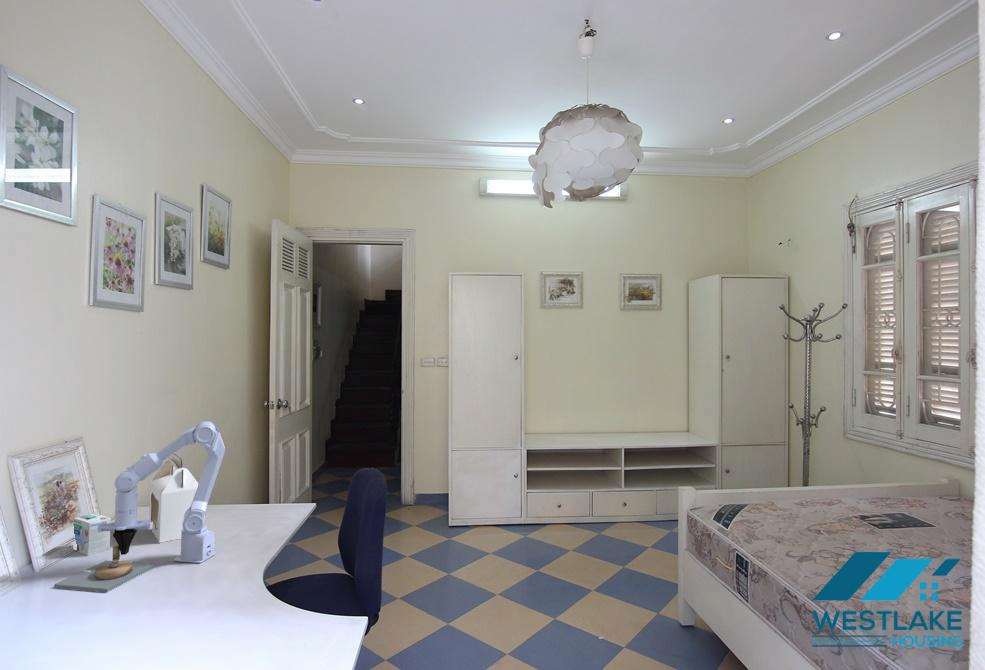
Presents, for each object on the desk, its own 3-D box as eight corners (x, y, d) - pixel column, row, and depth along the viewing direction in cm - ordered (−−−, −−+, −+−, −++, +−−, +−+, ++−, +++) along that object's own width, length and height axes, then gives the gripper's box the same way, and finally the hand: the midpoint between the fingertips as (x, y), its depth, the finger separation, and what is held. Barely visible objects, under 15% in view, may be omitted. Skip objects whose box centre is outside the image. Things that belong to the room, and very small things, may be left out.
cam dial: (131, 575, 155) (131, 556, 155) (93, 582, 150) (94, 562, 150) (133, 560, 166) (134, 542, 166) (98, 566, 161) (98, 548, 161)
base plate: (154, 567, 163) (154, 563, 164) (106, 592, 147) (107, 588, 147) (106, 563, 166) (106, 559, 166) (54, 587, 149) (54, 583, 149)
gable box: (148, 527, 200) (151, 453, 200) (188, 519, 208) (190, 449, 209) (159, 544, 183) (161, 463, 184) (201, 535, 192) (203, 458, 192)
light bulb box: (71, 550, 176) (72, 517, 177) (94, 543, 182) (95, 512, 183) (88, 556, 171) (89, 523, 172) (110, 549, 177) (112, 517, 178)
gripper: (93, 514, 158) (91, 560, 158) (146, 512, 161) (145, 556, 161) (104, 507, 165) (103, 551, 164) (156, 505, 168) (154, 548, 168)
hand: (124, 553), depth 163 cm, fingers closed
